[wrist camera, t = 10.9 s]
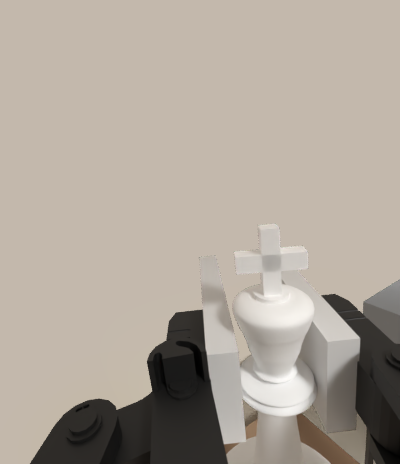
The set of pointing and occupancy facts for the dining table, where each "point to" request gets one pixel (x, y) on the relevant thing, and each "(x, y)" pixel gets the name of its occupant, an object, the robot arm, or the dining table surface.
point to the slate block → (385, 311)
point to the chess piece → (274, 353)
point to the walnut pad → (308, 441)
